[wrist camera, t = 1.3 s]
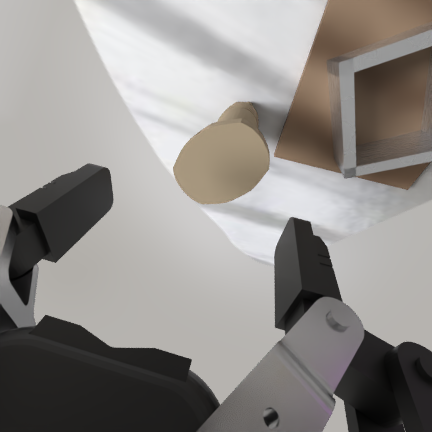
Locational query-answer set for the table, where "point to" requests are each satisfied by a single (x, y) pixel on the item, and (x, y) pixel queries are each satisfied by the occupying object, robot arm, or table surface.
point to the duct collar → (345, 108)
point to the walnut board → (360, 86)
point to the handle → (224, 157)
